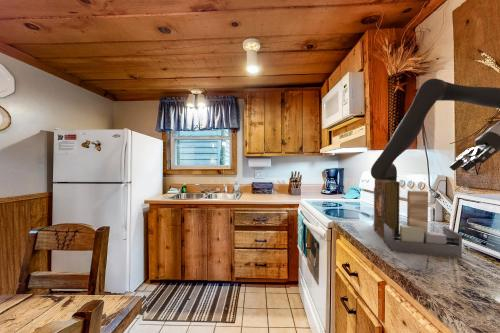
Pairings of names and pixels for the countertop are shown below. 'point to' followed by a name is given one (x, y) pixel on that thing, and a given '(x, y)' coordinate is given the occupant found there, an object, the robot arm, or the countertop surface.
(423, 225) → the birch board
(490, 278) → the countertop surface
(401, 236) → the sage offcut
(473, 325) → the countertop surface
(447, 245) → the rack
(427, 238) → the pale grey block
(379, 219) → the book
